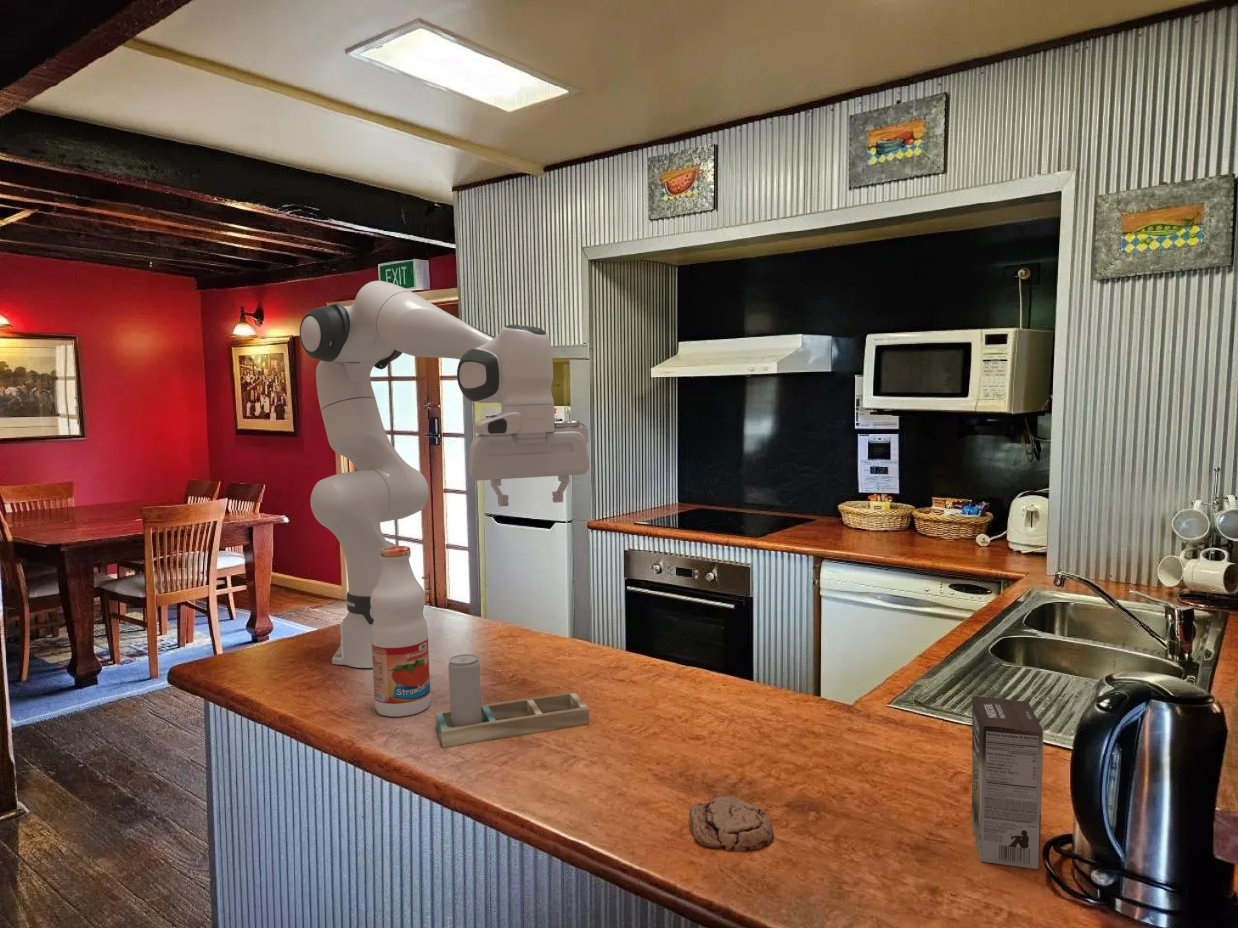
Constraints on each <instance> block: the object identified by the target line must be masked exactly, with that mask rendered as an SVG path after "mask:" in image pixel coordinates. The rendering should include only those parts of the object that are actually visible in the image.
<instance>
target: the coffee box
mask: <svg viewBox="0 0 1238 928" xmlns="http://www.w3.org/2000/svg"><path fill="white" fill-rule="evenodd" d="M971 700H972V712H971V713H972V724H971V726H972V727H971V728H972V730H971V731H972V732H971V734H972V735H971V736H972V737H971V742H972V743H971V747H972V749H971V826H972V831H973V835H974V838H975V844H976V848H977V852H978V858H979V860H980V862H982V863H988V864H994V865H1004V866H1010V867H1017V868H1023V869H1024V868H1025V869H1033V870H1039V869H1040V862H1041V861H1040V860H1041V857H1040V856H1041V854H1040V853H1041V852H1040V851H1041V829H1042V828H1041V827H1042V825H1041V823H1042V820H1041V819H1042V801H1043V800H1042V799H1043V798H1042V797H1043V796H1042V795H1043V794H1042V792H1043V790H1042V789H1043V767H1044V766H1043V764H1044V763H1043V762H1044V730H1043V728H1042V726H1041V724H1040V722H1039V719H1038V718H1037V716H1036V714H1035V712H1034V710H1033V708H1032V706H1031V704H1030V702H1029V700H1028V701H1027V700H1013V699H1012V700H1011V699H1008V698H1007V699H1006V698H1001V697H989V696H986V697H985V696H972V697H971Z"/></svg>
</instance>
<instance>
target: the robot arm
mask: <svg viewBox="0 0 1238 928" xmlns="http://www.w3.org/2000/svg"><path fill="white" fill-rule="evenodd" d="M299 338H300V339H299V340H300V344H301V346H302V348H303V350H304V351H305V353H306V355H308V356H309V357H310V358H312V359H314V360H317V361H319V362H318V364H317V366H316V370H315V379H316V380H315V381H316V390H317V392H316V393H317V399H318V403H319V408H320V412H321V417H322V420H323V424H324V428H325V432H326V437H327V441H328V444H329V446H330V447H331V450H333V452H335V453H336V454H338V455H340V456H341V457H344V458H346V459H348V461H350V462H351V464H353V466H354V467H355V468H356V471H354V470H353V471H348V472H347V471H346V472H345V471H344V472H340V473H337V474H332V475H330V476H328V477H325V478H323V479H321V480H320V479H319V481H317V483H315V485H314V487H313V489H312V492H311V494H310V508H311V512H312V515H313V516H314V518H315V519H316V521H317V522H318V523H319V524H320V525H322V526H323V527H325V528H326V529H328V530H329V531H330V532H331V533H332V534H333V535H334V536H335V537H336V539H337V541H338V542H339V543H340V546H341V549H342V550H343V553H344V558H345V565H346V572H347V573H346V574H347V583H348V584H347V585H348V591H347V593H346V601H345V603H346V610H347V611H348V613H347V615H346V616H345V617H344V618H343V619H342V621H341V622H340V624H339V627H338V632H339V633H338V634H339V635H340V640H339V646H338V648H337V650H336V651H335V653H334V655H333V656H332V658H331V664H333V665H342V666H343V665H344V666H348V667H351V668H358V669H359V668H360V669H373V661H372V643H371V629H372V624H373V622H374V615H373V612H372V609H371V604H370V599H371V594H372V592H373V590H374V588H375V587H376V585H377V584H378V582H379V579H380V575H381V571H382V567H383V559H382V558H381V549H383V548H385V547H391V546H397V544H395V543H393V542H392V541H389V540H386V538H385V537H384V534H383V532H382V528H381V523H384V522H385V523H386V522H391V521H397V520H401V519H402V520H403V519H404V518H405V519H406V518H408V517H410V516H413V515H414V514H417V513H418V512H421V511H422V510H423V509H424V508H425V507H426V505H427V503H428V501H429V495H430V494H429V493H430V491H429V489H430V488H429V485H428V482H427V479H426V477H425V476H424V475H423V474H422V472H421V471H419V470H418V469H416V468H414V467H412V465H410V464H408V462H406V461H405V460H404V459H403V458H402V457H401V455H400V454H399V452H397V450H396V449H395V448H394V446H393V444H392V443H391V441H390V439H389V437H388V435H387V432H386V430H385V427H384V423H383V421H382V420H383V419H382V418H381V413H380V410H379V407H378V403H377V399H376V395H375V391H374V390H373V386H372V381H371V380H372V379H371V373H372V370H373V368H376V369H378V370H384V369H386V368H387V367H388V365H389V364H390V363H391V362H393V361H395V360H397V359H398V358H399V357H400V356H401V355H402V354H405V355H408V356H412V357H419V358H438V359H439V358H441V359H455V360H459V362H458V364H457V369H456V378H457V379H456V380H457V384H458V385H457V386H458V387H459V390H460V392H461V394H462V395H463V396H464V397H465V398H466V399H468V400H469V401H471V402H476V403H480V404H494V403H495V404H500V408H501V412H500V413H497V414H493V415H490V416H488V417H486V418H483V419H480V420H477V421H476V422H475V423H474V432H475V433H476V434H477V435H476V436H474V438H473V439H472V440H471V443H470V446H469V454H468V475H469V476H470V477H471V478H472V479H473V480H474V481H489V480H490V487H491V488H492V489H493V491H494V493H495V494H496V496H497V505H498V507H509V504H510V503H509V495H508V494H503V493H502V492H503V491H501V489H500V488H499V487H501V486H502V480H508V479H512V480H513V479H527V478H545V477H557V481H558V482H560V484H559V486H558V487H557V489H556V491H555V490H554V491H552V502H553V503H555V504H556V503H563V502H564V493H565V491H566V489H567V487H568V485H569V483H570V476H580V475H586V474H587V472H588V471H589V469H590V459H589V452H588V447H587V443H588V441H589V430H588V428H587V426H586V425H585V424H584V423H583V422H580V421H579V420H568V421H567V420H566V421H565V420H557V421H556V420H555V401H554V397H553V393H552V386H553V385H552V384H553V380H554V364H553V353H552V352H553V351H552V345H551V341H550V337H549V335H548V333H547V332H546V331H545V330H544V329H543V328H541V327H537V326H529V325H522V324H508V325H504V326H503V327H501V329H500V330H499V332H498V334H497V335H496V336H494V335H492V334H489V333H487V332H485V331H483V330H481V329H479V328H477V327H475V326H474V325H470V324H469V323H467V322H465V321H463V320H462V319H459V318H458V317H456V316H455V315H452V314H450V313H448V311H445V310H443V309H442V308H440V307H438V306H437V305H435V304H433V303H432V302H430V301H428V300H426V298H424V297H421V296H420V295H418V294H416V293H415V292H413V291H411V290H409V289H407V288H405V287H403V286H400V285H398V284H395V283H391V282H388V281H384V280H374V281H373V280H372V281H369V282H368V283H366V284H365V285H363V286H362V287H361V288H360V289H359V291H358V292H357V293H356V296H355V299H354V302H353V304H351V305H341V304H340V303H333V304H330V305H324V306H319V307H316V308H313V309H310V310H309V311H308V312H306V314H305V315H304V317H302V320H301V322H300V326H299Z"/></svg>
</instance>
